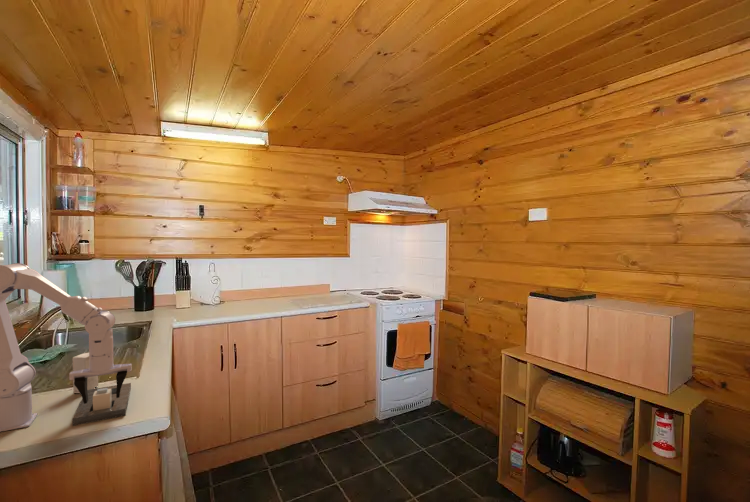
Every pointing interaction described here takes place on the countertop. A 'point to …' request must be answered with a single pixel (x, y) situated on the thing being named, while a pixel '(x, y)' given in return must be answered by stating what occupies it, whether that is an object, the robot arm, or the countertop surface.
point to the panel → (118, 409)
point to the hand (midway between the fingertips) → (102, 399)
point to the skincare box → (80, 364)
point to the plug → (102, 399)
